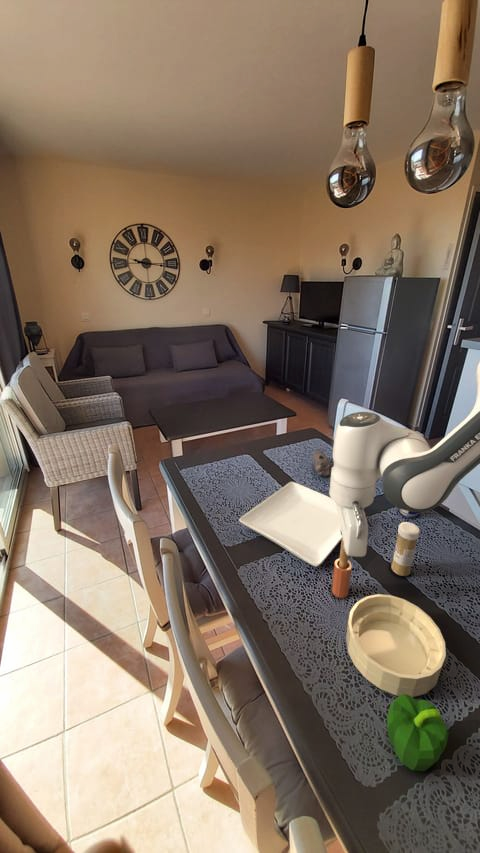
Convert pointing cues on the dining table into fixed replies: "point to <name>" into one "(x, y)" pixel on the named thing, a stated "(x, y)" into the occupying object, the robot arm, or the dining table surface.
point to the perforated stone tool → (321, 464)
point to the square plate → (298, 522)
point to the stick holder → (341, 579)
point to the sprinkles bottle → (405, 548)
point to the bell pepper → (416, 732)
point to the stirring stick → (343, 557)
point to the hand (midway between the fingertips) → (345, 541)
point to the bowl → (395, 645)
